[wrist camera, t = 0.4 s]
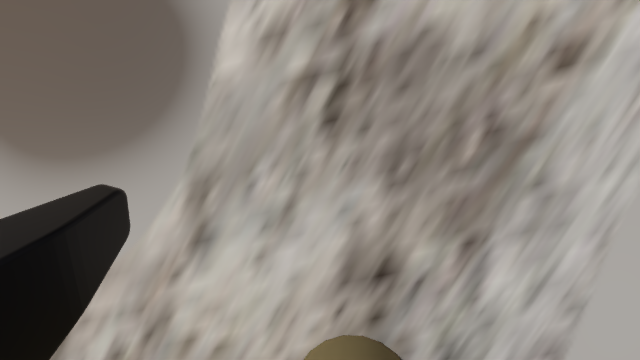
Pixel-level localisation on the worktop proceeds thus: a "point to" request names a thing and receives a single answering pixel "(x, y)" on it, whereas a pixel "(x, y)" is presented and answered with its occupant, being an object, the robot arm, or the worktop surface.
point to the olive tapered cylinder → (351, 349)
